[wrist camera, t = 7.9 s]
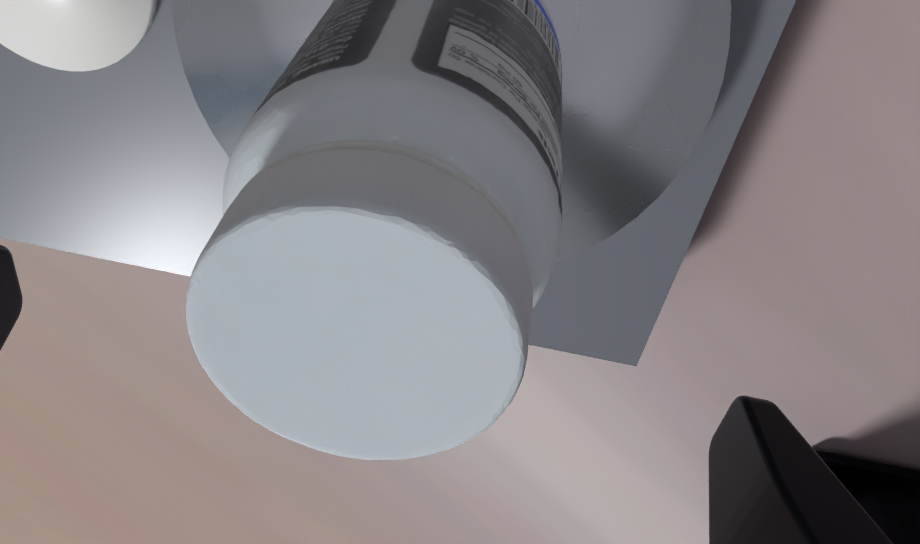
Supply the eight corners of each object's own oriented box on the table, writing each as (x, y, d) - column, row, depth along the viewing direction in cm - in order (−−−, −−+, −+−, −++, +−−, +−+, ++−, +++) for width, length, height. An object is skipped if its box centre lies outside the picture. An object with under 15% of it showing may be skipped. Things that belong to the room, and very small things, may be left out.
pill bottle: (345, 164, 17) (203, 472, 10) (309, -60, 14) (82, 170, 8) (561, 166, 17) (554, 494, 10) (568, -67, 14) (565, 177, 7)
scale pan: (823, -209, 13) (839, -201, 12) (627, 290, 20) (630, 316, 19) (172, -344, 13) (145, -346, 12) (202, 204, 19) (186, 227, 19)
